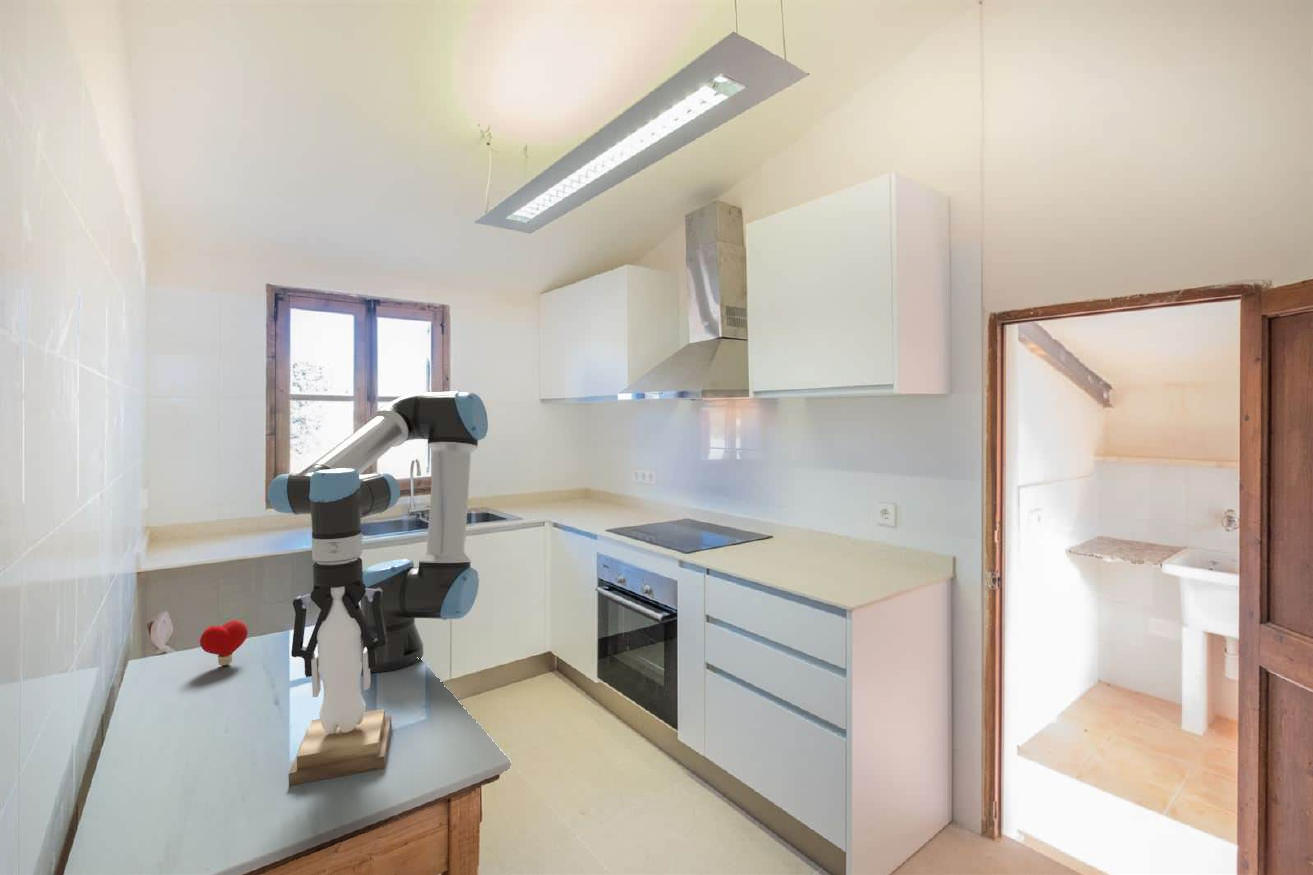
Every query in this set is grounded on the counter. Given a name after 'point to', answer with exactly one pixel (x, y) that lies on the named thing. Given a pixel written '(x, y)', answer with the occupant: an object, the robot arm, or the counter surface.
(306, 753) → the oak slab
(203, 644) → the red heart on stem
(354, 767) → the walnut slab
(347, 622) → the water bottle
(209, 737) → the counter surface
